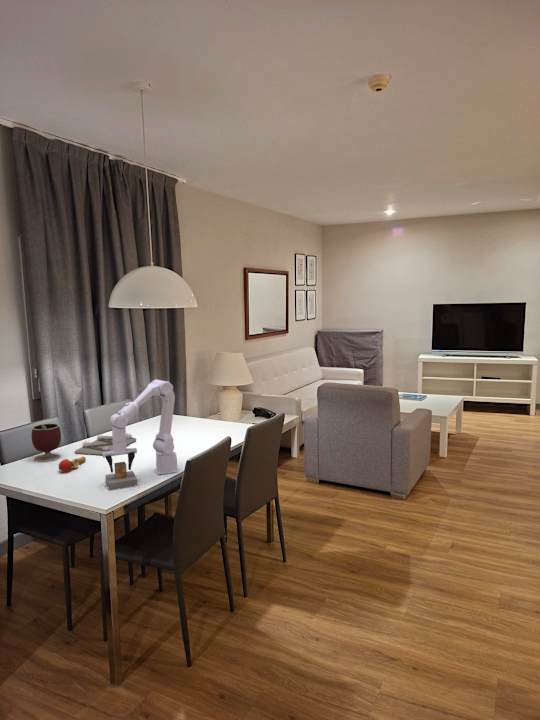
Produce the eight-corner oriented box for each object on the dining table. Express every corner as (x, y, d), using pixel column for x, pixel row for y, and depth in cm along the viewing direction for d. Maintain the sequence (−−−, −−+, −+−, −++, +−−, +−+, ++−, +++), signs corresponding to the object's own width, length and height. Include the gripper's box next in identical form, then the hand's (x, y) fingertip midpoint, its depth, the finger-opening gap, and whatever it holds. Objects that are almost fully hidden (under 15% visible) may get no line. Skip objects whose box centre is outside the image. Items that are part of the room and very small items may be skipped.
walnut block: (125, 474, 227) (124, 461, 226) (126, 477, 223) (126, 464, 222) (114, 475, 225) (114, 463, 224) (116, 479, 221) (115, 466, 220)
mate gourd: (36, 455, 265) (33, 418, 263) (64, 453, 269) (61, 417, 266) (29, 465, 250) (27, 426, 248) (59, 462, 254) (57, 424, 251)
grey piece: (104, 439, 297) (103, 427, 296) (137, 441, 292) (136, 429, 291) (73, 454, 268) (72, 441, 267) (109, 457, 263) (108, 444, 262)
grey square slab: (132, 477, 232) (132, 470, 231) (137, 485, 221) (137, 479, 221) (105, 481, 227) (105, 474, 226) (109, 490, 216) (108, 483, 216)
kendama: (74, 464, 255) (53, 471, 238) (77, 452, 255) (55, 458, 238) (88, 467, 254) (67, 475, 236) (90, 455, 254) (69, 462, 236)
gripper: (134, 436, 228) (135, 465, 230) (101, 440, 222) (102, 470, 224) (137, 440, 222) (138, 470, 223) (103, 444, 216) (104, 475, 217)
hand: (120, 470), depth 223 cm, fingers open, 7 cm apart
